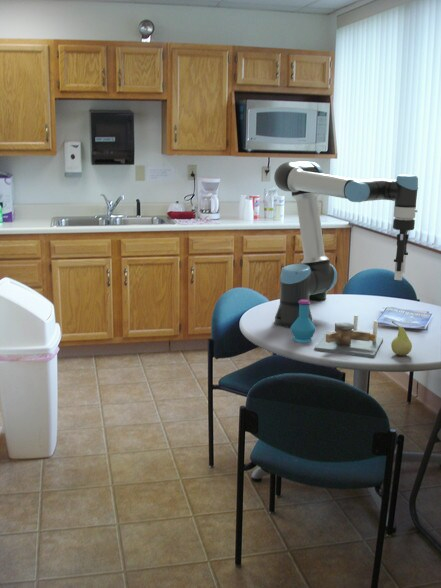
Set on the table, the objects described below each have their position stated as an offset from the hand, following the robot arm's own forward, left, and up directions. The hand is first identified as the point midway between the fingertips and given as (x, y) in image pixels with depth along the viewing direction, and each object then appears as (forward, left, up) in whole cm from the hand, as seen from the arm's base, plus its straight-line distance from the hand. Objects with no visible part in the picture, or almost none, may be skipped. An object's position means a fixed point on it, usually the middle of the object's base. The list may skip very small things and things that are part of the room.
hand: (399, 276), depth 250 cm
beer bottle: (-43, +51, -25) cm, 71 cm away
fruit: (+4, -18, -25) cm, 31 cm away
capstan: (-13, -17, -23) cm, 31 cm away
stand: (-14, -14, -24) cm, 32 cm away
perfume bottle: (-32, -14, -25) cm, 43 cm away
